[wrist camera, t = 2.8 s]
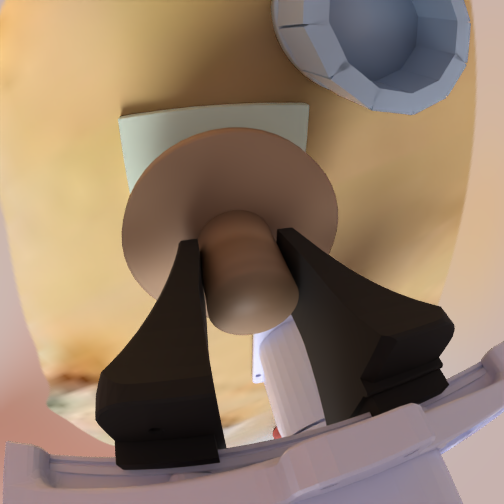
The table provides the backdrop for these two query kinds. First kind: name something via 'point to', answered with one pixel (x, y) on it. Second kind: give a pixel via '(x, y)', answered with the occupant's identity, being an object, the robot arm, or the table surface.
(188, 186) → the lid
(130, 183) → the mat
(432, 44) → the bowl
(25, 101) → the table surface
